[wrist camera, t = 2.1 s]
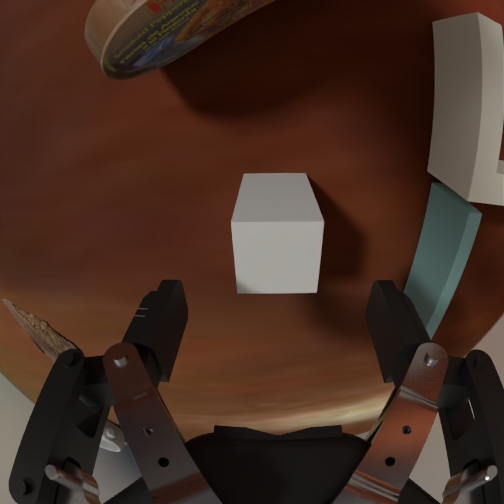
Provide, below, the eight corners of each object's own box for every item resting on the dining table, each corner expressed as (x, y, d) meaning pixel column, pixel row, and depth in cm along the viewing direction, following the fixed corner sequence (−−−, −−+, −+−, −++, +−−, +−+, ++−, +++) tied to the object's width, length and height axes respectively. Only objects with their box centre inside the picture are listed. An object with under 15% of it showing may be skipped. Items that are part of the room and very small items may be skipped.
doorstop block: (243, 173, 18) (231, 222, 12) (305, 173, 18) (324, 221, 12) (247, 227, 20) (237, 293, 14) (303, 227, 20) (316, 292, 14)
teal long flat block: (431, 182, 17) (471, 214, 12) (452, 184, 17) (492, 217, 12) (396, 312, 24) (413, 356, 19) (413, 311, 24) (432, 353, 19)
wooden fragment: (148, 398, 37) (146, 403, 36) (112, 403, 41) (110, 408, 40) (14, 280, 26) (10, 285, 25) (-1, 305, 30) (-4, 310, 29)
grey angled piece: (432, 21, 11) (477, 12, 6) (538, 75, 10) (578, 86, 5) (382, 334, 26) (395, 376, 21) (474, 322, 25) (492, 355, 20)
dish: (120, 438, 54) (115, 454, 49) (70, 413, 50) (64, 429, 46) (134, 429, 47) (129, 448, 43) (74, 399, 43) (66, 418, 39)
